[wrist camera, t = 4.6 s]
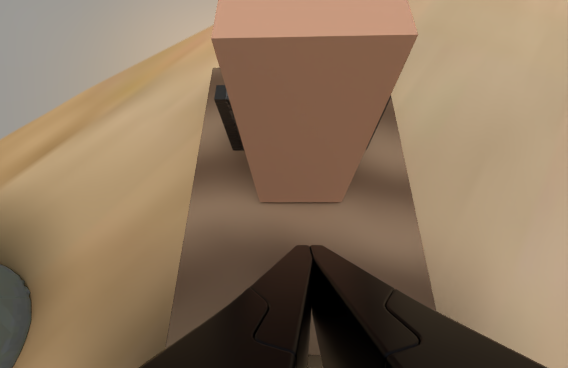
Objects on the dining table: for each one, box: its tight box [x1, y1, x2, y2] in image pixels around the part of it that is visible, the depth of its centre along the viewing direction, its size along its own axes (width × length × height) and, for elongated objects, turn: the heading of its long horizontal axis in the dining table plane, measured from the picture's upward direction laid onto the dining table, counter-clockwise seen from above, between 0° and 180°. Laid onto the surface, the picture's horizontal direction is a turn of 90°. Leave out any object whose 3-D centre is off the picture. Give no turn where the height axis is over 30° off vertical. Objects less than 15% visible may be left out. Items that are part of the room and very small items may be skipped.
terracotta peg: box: [211, 0, 418, 202], centre depth 13 cm, size 6×5×11 cm
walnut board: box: [165, 68, 436, 355], centre depth 18 cm, size 20×14×1 cm
